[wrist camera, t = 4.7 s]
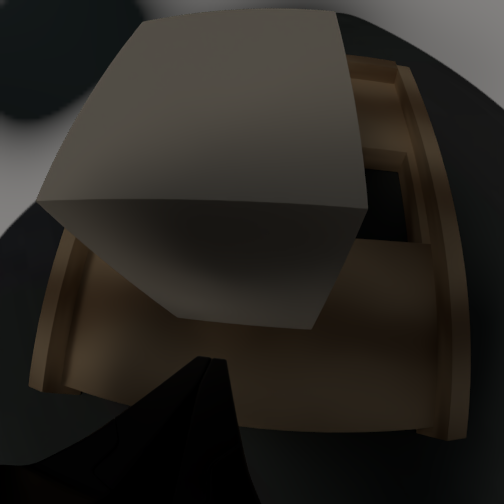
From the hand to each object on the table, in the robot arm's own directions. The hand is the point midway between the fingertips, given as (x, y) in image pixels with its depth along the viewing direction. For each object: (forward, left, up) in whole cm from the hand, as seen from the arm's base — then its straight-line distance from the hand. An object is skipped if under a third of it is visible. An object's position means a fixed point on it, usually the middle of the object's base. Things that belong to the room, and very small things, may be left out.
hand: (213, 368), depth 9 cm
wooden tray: (+6, +7, -7) cm, 11 cm away
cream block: (+4, +4, -5) cm, 7 cm away
